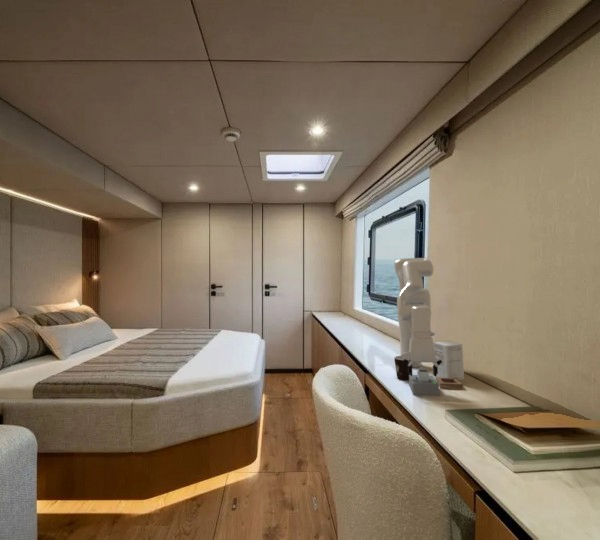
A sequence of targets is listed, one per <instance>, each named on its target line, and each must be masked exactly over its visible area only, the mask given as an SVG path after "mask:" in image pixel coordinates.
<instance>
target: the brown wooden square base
mask: <svg viewBox="0 0 600 540" xmlns="http://www.w3.org/2000/svg"><path fill="white" fill-rule="evenodd" d="M435 380H436V381H437V383H438V384H439V389H446V390H449V389H450V390H463V389H464V385H463V383H462V381H461V380H458V379H457V378H441V377H435Z"/></svg>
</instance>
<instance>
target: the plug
mask: <svg viewBox="0 0 600 540" xmlns="http://www.w3.org/2000/svg"><path fill="white" fill-rule="evenodd" d="M416 372H417V373H416V375H417V376H418V381H427V382H429V371H428V369H427V368H423V367H422V368H421V367H417V370H416Z"/></svg>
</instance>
